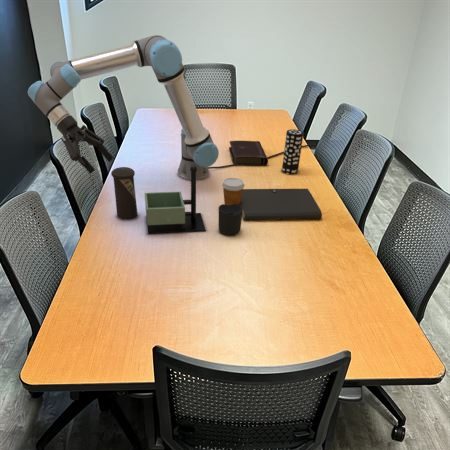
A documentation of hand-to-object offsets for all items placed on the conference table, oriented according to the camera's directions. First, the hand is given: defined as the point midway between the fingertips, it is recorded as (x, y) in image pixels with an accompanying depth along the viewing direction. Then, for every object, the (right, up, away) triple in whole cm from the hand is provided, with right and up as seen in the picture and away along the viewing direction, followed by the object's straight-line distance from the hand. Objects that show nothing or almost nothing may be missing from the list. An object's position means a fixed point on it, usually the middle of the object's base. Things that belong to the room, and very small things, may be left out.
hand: (102, 165), depth 180 cm
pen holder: (+50, -26, +3) cm, 56 cm away
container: (+8, -18, +9) cm, 22 cm away
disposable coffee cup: (+52, -13, +19) cm, 57 cm away
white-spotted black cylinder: (+82, +13, +55) cm, 100 cm away
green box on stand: (+28, -22, +6) cm, 36 cm away
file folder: (+72, -13, +21) cm, 76 cm away
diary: (+60, +25, +68) cm, 94 cm away
